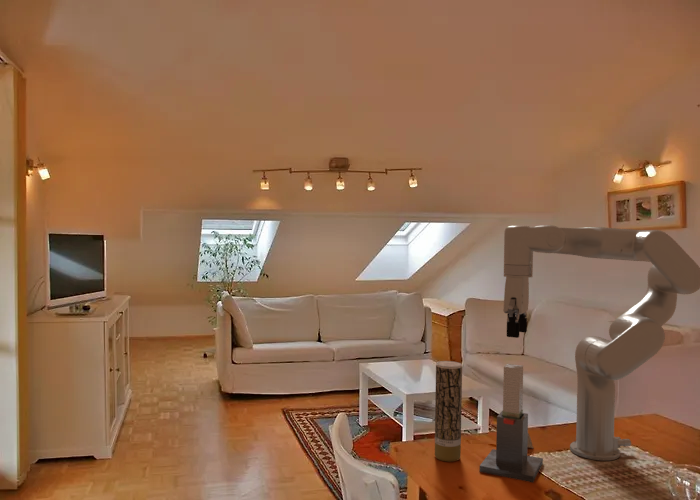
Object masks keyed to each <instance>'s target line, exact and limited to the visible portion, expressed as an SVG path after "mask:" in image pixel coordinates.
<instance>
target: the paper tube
mask: <svg viewBox="0 0 700 500" xmlns="http://www.w3.org/2000/svg"><path fill="white" fill-rule="evenodd" d="M462 388H463V364H462V362H457V361H450V360H442V361H437V362H436V363H435V401H434V403H435V406H434V410H435V412H434V413H435V415H434V456H435V458H436V459H437V460H439V461H442V462H449V463H451V462H452V463H453V462H456V461H458V460H460V458H461V451H462V450H461V448H462V445H461V444H462V400H463V399H462V393H463V391H462V390H463V389H462Z"/></svg>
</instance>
